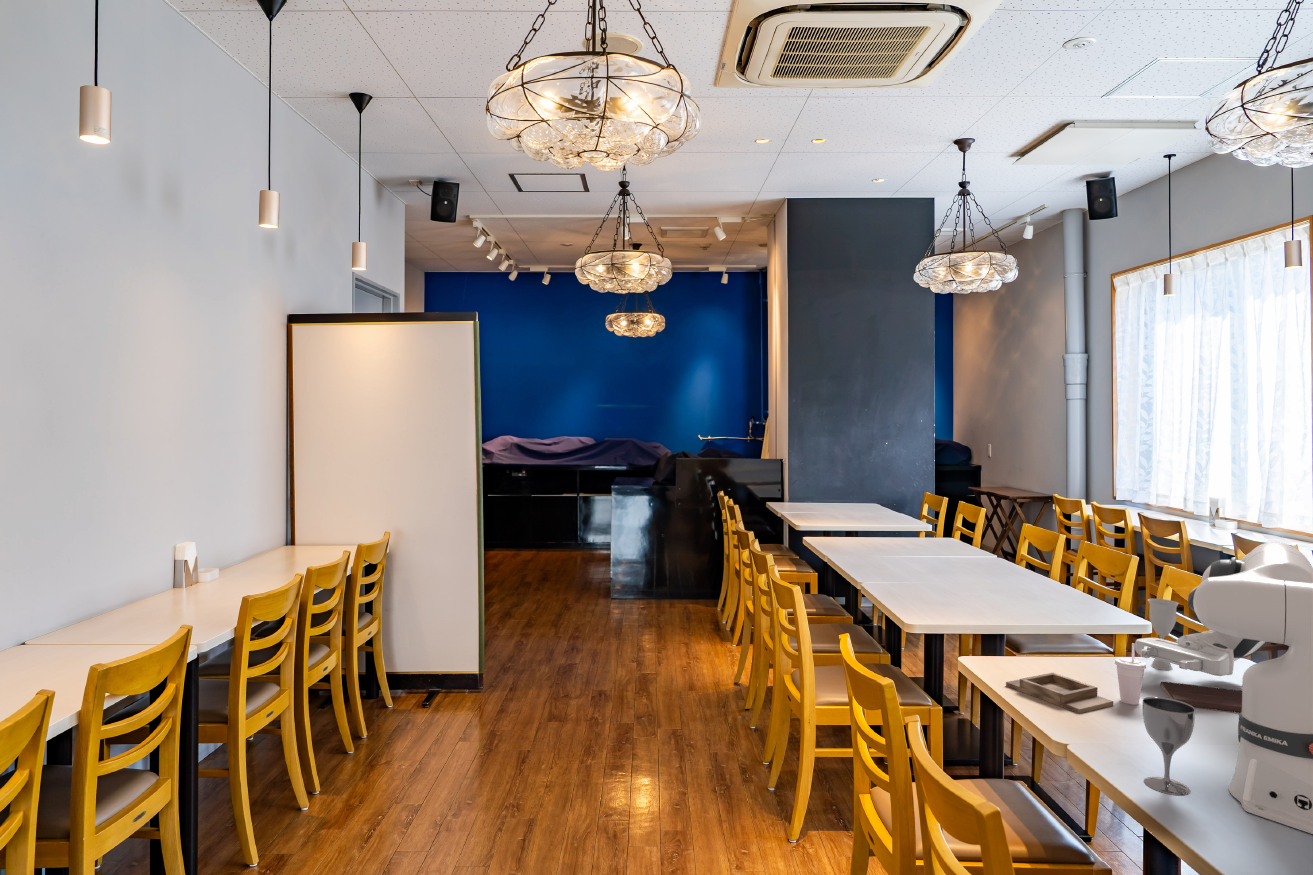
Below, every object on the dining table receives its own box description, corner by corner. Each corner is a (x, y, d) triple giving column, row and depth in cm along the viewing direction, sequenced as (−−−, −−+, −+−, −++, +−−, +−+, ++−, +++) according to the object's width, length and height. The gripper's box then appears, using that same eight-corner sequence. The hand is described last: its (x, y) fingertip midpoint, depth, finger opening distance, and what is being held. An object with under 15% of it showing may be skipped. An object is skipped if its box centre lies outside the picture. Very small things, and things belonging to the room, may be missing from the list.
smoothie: (1150, 707, 178) (1151, 648, 178) (1120, 705, 179) (1121, 646, 179) (1138, 697, 184) (1139, 640, 184) (1109, 695, 186) (1110, 638, 185)
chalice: (1183, 669, 206) (1184, 603, 206) (1166, 672, 204) (1167, 605, 203) (1157, 661, 213) (1158, 597, 212) (1140, 664, 210) (1141, 599, 210)
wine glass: (1130, 779, 142) (1132, 699, 141) (1160, 772, 144) (1162, 694, 144) (1173, 799, 134) (1174, 715, 134) (1203, 792, 137) (1205, 709, 137)
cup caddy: (1113, 705, 179) (1113, 692, 179) (1079, 713, 174) (1079, 700, 174) (1038, 679, 197) (1038, 667, 197) (1005, 685, 192) (1006, 674, 192)
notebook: (1160, 686, 194) (1160, 678, 194) (1255, 698, 186) (1255, 689, 186) (1174, 706, 180) (1174, 698, 180) (1277, 720, 172) (1278, 711, 172)
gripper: (1154, 629, 202) (1120, 635, 196) (1240, 650, 184) (1206, 658, 178) (1153, 652, 203) (1120, 659, 197) (1239, 676, 184) (1205, 685, 178)
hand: (1161, 659), depth 187 cm, fingers open, 8 cm apart
